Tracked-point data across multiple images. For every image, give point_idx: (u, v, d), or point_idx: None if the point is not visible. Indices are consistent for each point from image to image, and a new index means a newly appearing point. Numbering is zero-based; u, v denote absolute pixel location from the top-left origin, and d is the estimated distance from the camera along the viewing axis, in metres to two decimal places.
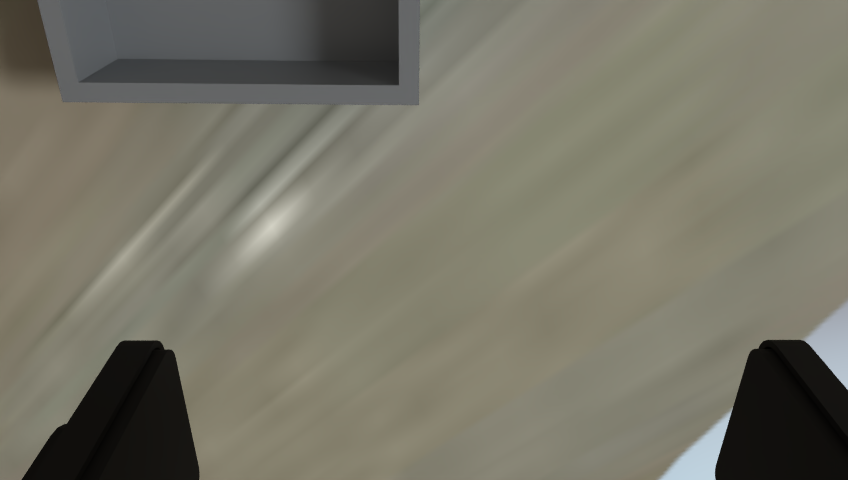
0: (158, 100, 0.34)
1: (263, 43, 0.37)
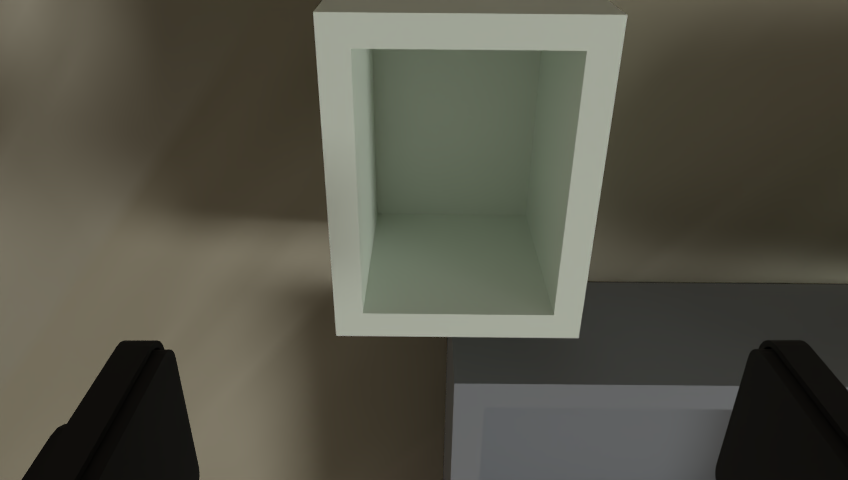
0: None
1: None
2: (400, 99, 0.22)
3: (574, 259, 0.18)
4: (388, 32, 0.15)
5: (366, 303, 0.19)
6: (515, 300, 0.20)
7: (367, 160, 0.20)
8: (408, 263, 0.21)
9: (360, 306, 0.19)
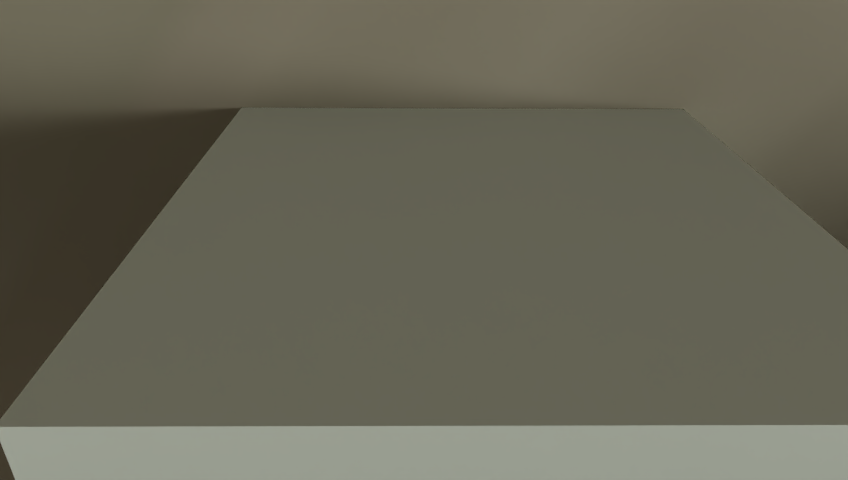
0: None
1: None
2: None
3: None
4: (258, 474, 0.05)
5: None
6: None
7: None
8: None
9: None
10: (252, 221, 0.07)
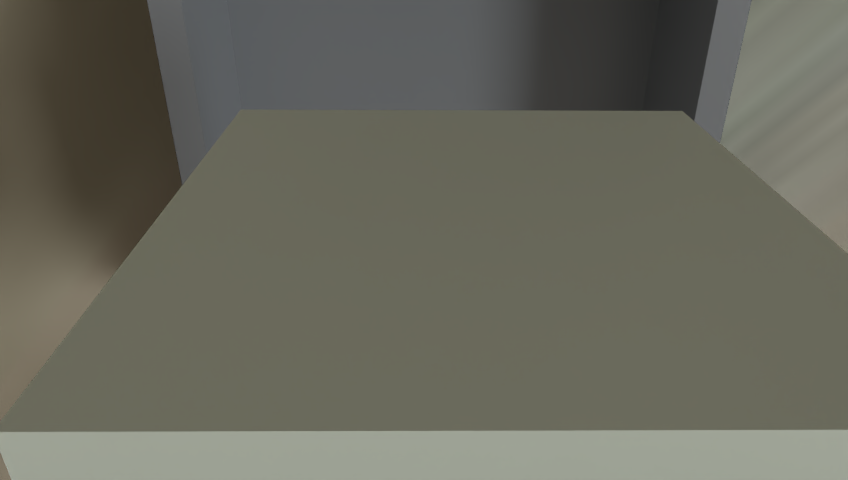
0: None
1: None
2: None
3: None
4: (256, 478, 0.05)
5: None
6: None
7: None
8: None
9: None
10: (251, 224, 0.07)
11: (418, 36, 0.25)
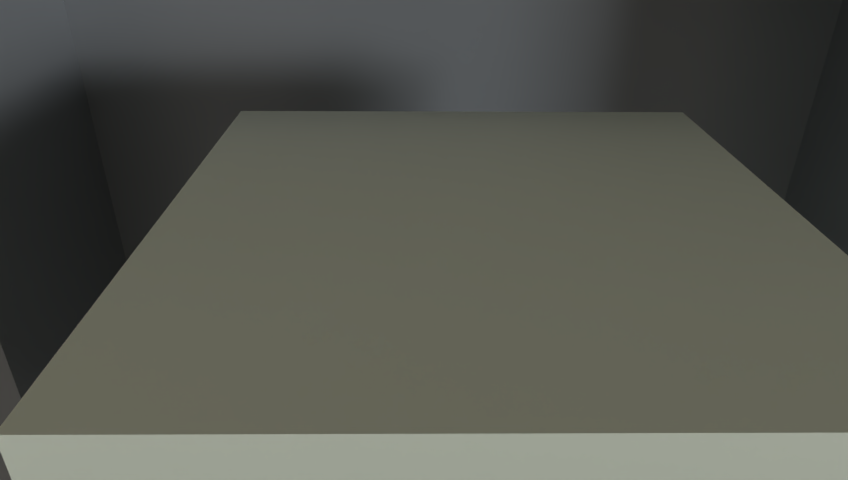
0: None
1: None
2: None
3: None
4: None
5: None
6: None
7: None
8: None
9: None
10: (251, 226, 0.07)
11: None
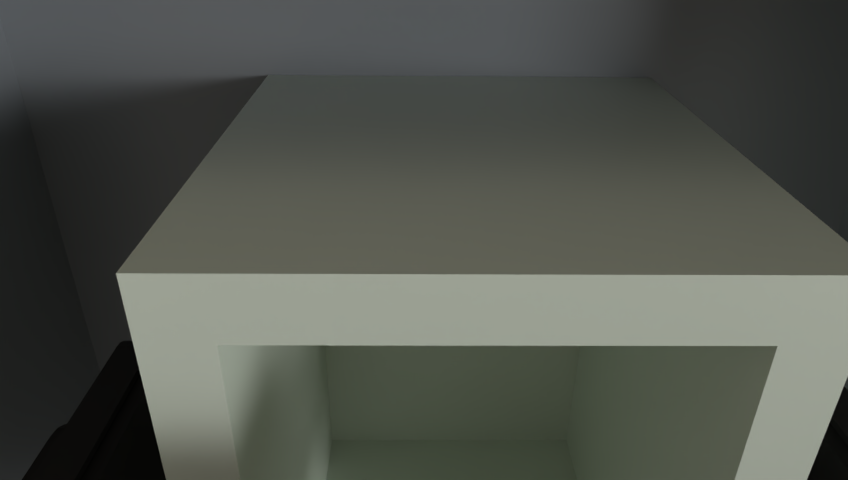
0: None
1: None
2: None
3: None
4: (305, 314, 0.06)
5: None
6: None
7: (299, 428, 0.11)
8: None
9: None
10: (287, 154, 0.09)
11: None
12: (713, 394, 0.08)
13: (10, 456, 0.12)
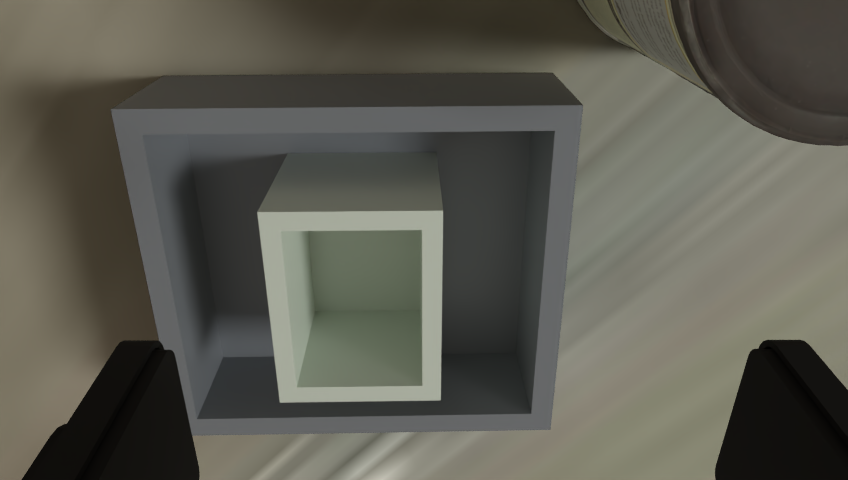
0: (279, 432, 0.32)
1: None
2: (327, 235, 0.32)
3: (431, 350, 0.28)
4: (302, 222, 0.25)
5: (300, 380, 0.29)
6: (399, 375, 0.29)
7: (300, 283, 0.30)
8: (331, 350, 0.31)
9: (295, 383, 0.29)
10: (296, 183, 0.28)
11: None
12: None
13: (188, 301, 0.31)
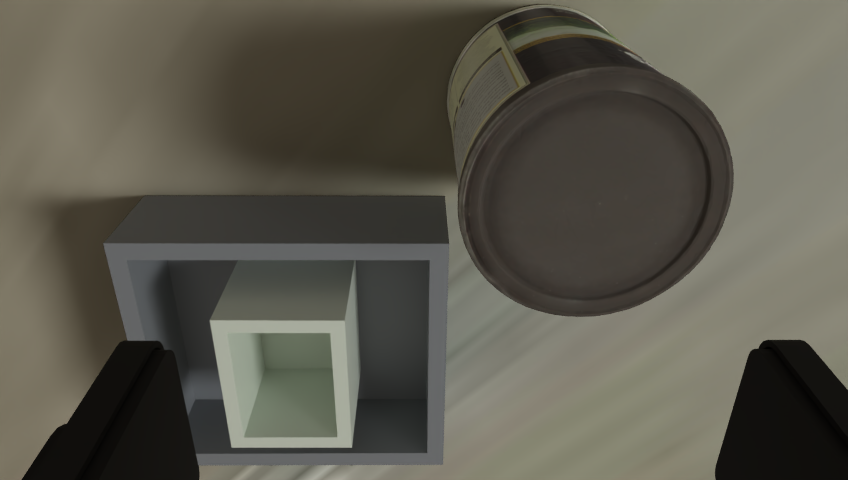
0: (235, 464, 0.42)
1: None
2: None
3: (342, 413, 0.38)
4: (242, 327, 0.35)
5: (246, 431, 0.39)
6: (321, 428, 0.39)
7: (248, 357, 0.40)
8: (273, 404, 0.41)
9: (242, 434, 0.38)
10: (242, 289, 0.37)
11: None
12: None
13: None
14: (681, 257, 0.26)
